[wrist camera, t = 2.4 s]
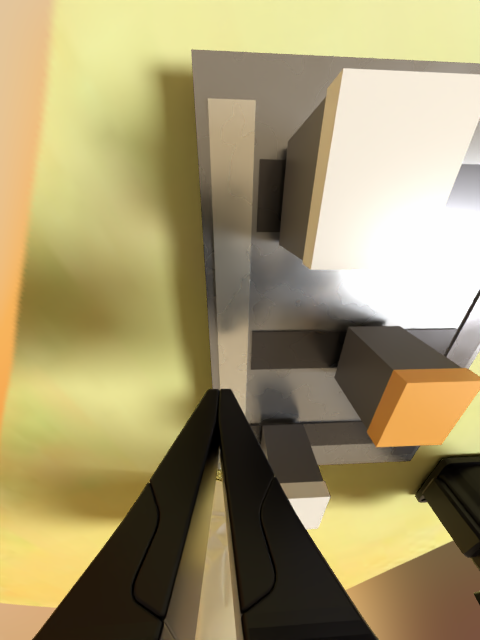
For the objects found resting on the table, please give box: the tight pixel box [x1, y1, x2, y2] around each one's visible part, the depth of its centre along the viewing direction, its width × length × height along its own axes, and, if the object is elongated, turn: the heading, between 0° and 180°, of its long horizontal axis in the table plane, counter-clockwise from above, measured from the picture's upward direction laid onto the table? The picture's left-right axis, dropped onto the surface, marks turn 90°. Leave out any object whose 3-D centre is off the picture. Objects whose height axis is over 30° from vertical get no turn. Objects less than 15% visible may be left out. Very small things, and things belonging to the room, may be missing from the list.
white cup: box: [195, 480, 237, 640], centre depth 15 cm, size 8×8×10 cm
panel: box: [191, 50, 480, 470], centre depth 11 cm, size 14×20×2 cm
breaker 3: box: [334, 326, 480, 447], centre depth 9 cm, size 2×3×4 cm
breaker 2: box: [279, 68, 480, 270], centre depth 6 cm, size 2×3×4 cm
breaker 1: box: [261, 424, 330, 529], centre depth 12 cm, size 2×3×4 cm
